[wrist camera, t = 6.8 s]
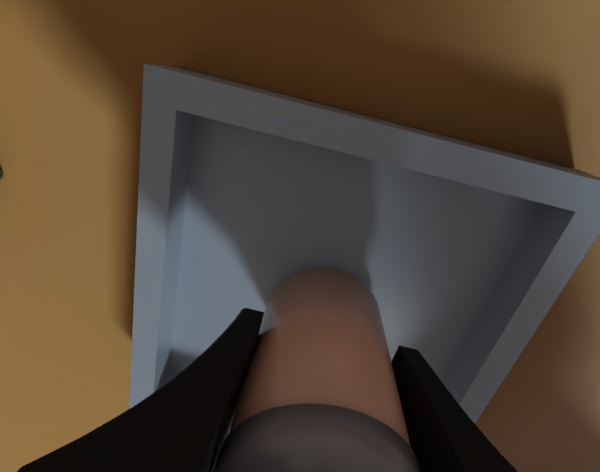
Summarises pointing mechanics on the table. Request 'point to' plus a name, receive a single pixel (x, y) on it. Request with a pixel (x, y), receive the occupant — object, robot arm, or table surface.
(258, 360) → the shaker
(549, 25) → the table surface
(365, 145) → the tray
